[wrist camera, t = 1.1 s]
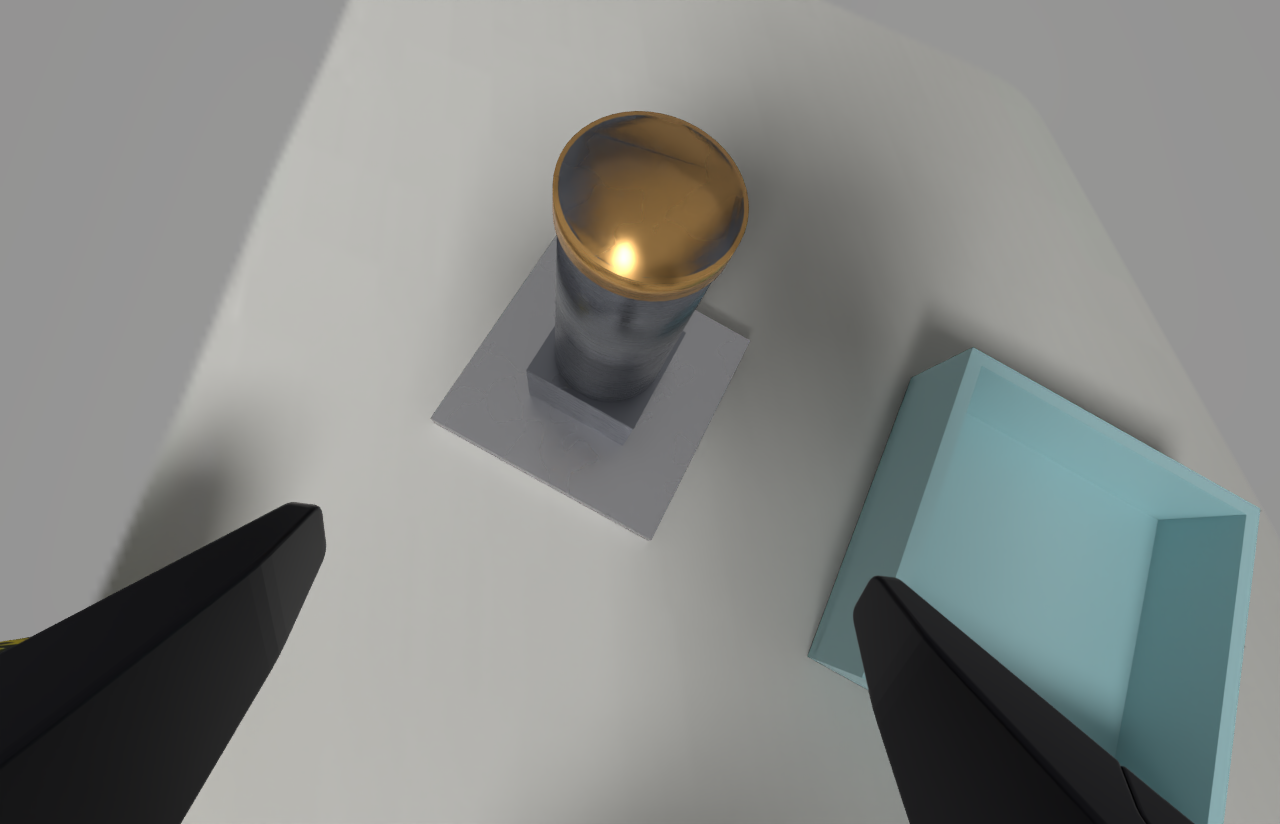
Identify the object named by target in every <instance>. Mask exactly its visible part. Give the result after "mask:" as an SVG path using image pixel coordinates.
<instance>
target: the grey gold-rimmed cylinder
mask: <svg viewBox="0 0 1280 824" xmlns="http://www.w3.org/2000/svg"><path fill="white" fill-rule="evenodd" d="M748 213H749V204H748V195H747V190H746V186H745V183H744V180H743V178H742V175H741V173H740V171H739V169H738V167H737V166H736V164H735V163H734V161H733V159H732V158H731V157H730V155H729V154H728V153H727V152H726V150H725V149H724V148H723V147H722V146H721V145H720V144H719V143H718V142H717V141H716V140H714V139H713V138H712V137H711V136H709V135H708V134H707V133H705V132H704V131H702V130H701V129H699V128H697V127H696V126H694V125H692V124H690V123H688V122H686V121H684V120H681V119H678V118H676V117H673V116H669V115H665V114H661V113H654V112H645V111H632V112H622V113H617V114H612V115H609V116H606V117H603V118H600V119H598V120H596V121H594V122H592V123H590V124H589V125H587V126H586V127H584V128H582V129H581V130H580V131H579V132H578V133H577V134H575V135H574V136H573V137H572V138H571V140H570V141H569V142H568V143H567V144H566V146H565V147H564V149H563V151H562V152H561V154H560V156H559V159H558V161H557V164H556V167H555V171H554V177H553V222H554V226H555V231H556V234H557V250H556V303H555V326H554V328H553V329H552V331H551V332H550V334H549V335H548V337H547V338H546V340H545V342H544V343H543V345H542V346H541V348H540V349H539V351H538V352H537V354H536V356H535V357H534V359H533V360H532V362H531V363H530V365H529V366H528V368H527V369H526V372H527V379H528V387H529V394H530V395H532V396H534V397H535V398H537V399H539V400H541V401H543V402H545V403H546V404H548V405H550V406H552V407H554V408H555V409H557V410H559V411H561V412H563V413H564V414H566V415H568V416H570V417H572V418H573V419H575V420H577V421H579V422H581V423H582V424H584V425H586V426H588V427H590V428H592V429H593V430H595V431H597V432H599V433H601V434H602V435H604V436H606V437H608V438H610V439H611V440H613V441H615V442H617V443H619V444H620V445H622V446H623V445H624V443H625V442H626V440H627V438H628V437H629V435H630V434H631V432H632V431H633V429H634V427H635V426H636V424H637V422H638V420H639V418H640V416H641V415H642V413H643V411H644V409H645V407H646V405H647V404H648V402H649V400H650V398H651V396H652V394H653V393H654V391H655V389H656V387H657V385H658V383H659V382H660V380H661V378H662V376H663V374H664V372H665V371H666V369H667V367H668V365H669V363H670V361H671V360H672V358H673V356H674V354H675V352H676V351H677V349H678V347H679V345H680V343H681V341H682V340H683V338H684V336H685V334H686V332H684V331H683V330H684V328H685V326H686V325H687V323H688V321H689V320H690V318H691V316H692V314H693V313H694V311H695V309H696V308H697V306H698V304H699V302H700V301H701V299H702V297H703V296H704V294H705V292H706V291H707V289H708V287H709V285H710V284H711V282H712V281H713V280H715V279H716V278H717V277H718V275H719V274H720V273H721V272H722V271H723V269H724V268H725V266H726V265H727V263H728V262H729V260H730V258H731V257H732V255H733V253H734V252H735V250H736V248H737V247H738V245H739V243H740V242H741V239H742V237H743V235H744V233H745V229H746V226H747V222H748Z"/></svg>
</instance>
